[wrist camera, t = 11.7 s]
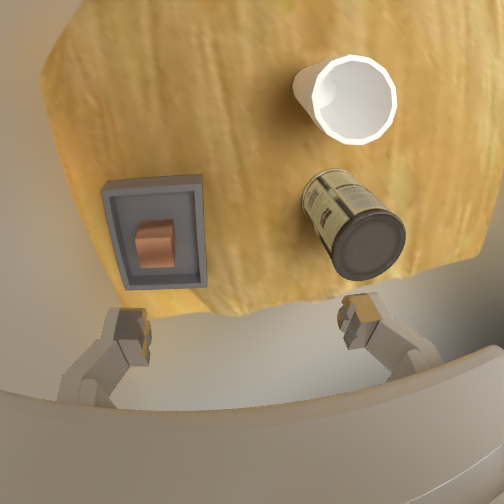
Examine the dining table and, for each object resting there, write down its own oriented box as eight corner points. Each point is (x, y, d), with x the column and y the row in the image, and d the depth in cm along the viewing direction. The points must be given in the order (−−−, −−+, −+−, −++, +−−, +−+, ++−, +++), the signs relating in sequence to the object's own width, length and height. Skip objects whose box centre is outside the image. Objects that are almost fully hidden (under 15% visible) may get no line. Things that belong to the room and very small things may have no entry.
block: (141, 220, 42) (134, 239, 38) (173, 219, 43) (170, 237, 39) (146, 248, 45) (140, 268, 41) (176, 247, 46) (174, 266, 42)
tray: (108, 181, 39) (100, 190, 36) (202, 174, 41) (201, 183, 38) (128, 276, 49) (125, 290, 46) (207, 273, 51) (207, 287, 48)
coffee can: (358, 221, 49) (398, 273, 38) (301, 229, 48) (330, 288, 37) (363, 165, 43) (412, 207, 31) (300, 171, 42) (335, 218, 31)
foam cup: (266, 79, 34) (292, 87, 23) (320, 43, 31) (367, 39, 21) (308, 132, 39) (345, 162, 28) (357, 97, 36) (409, 115, 26)
